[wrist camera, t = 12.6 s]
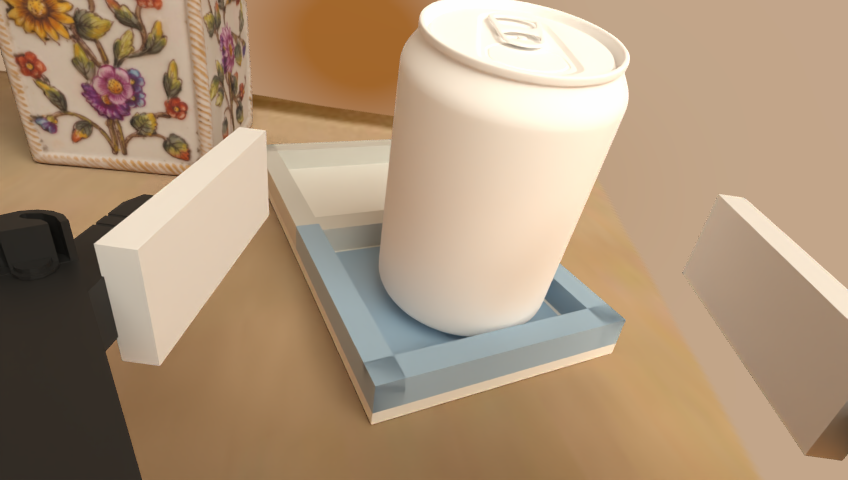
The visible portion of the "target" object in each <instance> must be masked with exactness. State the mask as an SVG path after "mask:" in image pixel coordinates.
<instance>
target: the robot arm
mask: <svg viewBox="0 0 848 480" xmlns="http://www.w3.org/2000/svg"><path fill="white" fill-rule="evenodd" d="M268 216H269V200H268V173H267V146H266V131H265V130H258V129H251V128H244V127H239V128H237V129H236V130H235V131H234V132H233V133H231V134H230V135H229V136H228V137H226V138H225V139H224V140H223V141H221V142H220V143H219V144H218V145H216V146H215V147H214V148H213V149H211V150H210V151H209V152H208V153H206V154H205V155H204V156H203V157H201V158H200V159H199V160H198V161H196V162H195V163H194V164H193V165H191V166H190V167H189V168H188V169H186V170H185V171H184V172H183V173H181V174H180V175H179V176H178V177H176V178H175V179H174V180H173V181H171V182H170V183H169V184H168V185H167V186H165V187H164V188H163V189H162V190H160V191H159V192H158V193H157V194H155V195H154V196H153V195H146V194H143V195H141V196H138V197H136V198H133V199H131V200H128V201H125V202H123V203H121V204H120V205H119V206H117V207H116V208H115V209H113V210H112V211H111V212H109V213H108V216H104V217H103V218H101V219H100V220H99V221H97V222H96V225H92V226H91V227H89V228H88V229H87V230H85V231H84V232H83V233H81V234H80V235H79V236H77V237H76V238H75V239H73V235H72V231H71V228H70V224H69V220H68V219H67V218H66V217H65V216H64V215H63V214H60V213H57V212H54V211H48V210H26V211H17V212H12V213H8V214H3V215H0V480H142V478H141V475H140V471H139V468H138V464H137V461H136V457H135V454H134V450H133V447H132V443H131V440H130V436H129V433H128V429H127V426H126V422H125V419H124V415H123V412H122V408H121V405H120V401H119V398H118V394H117V391H116V387H115V384H114V380H113V377H112V373H111V370H110V366H109V363H108V359H107V356H106V352H105V351H106V350H107V349H108V348H109V347H110V346H111V345H112V343H113V342H114V341H115V340H116V339H117V342H118V346H119V350H120V354H121V358H122V361H128V362H135V363H142V364H149V365H157V366H160V365H161V364H162V362H163V361H164V360H165V358H166V357H167V355H168V354H169V353H170V351H171V350H172V349H173V347H174V346H175V344H176V343H177V342H178V340H179V339H180V337H181V336H182V335H183V333H184V332H185V331H186V329H187V328H188V326H189V325H190V324H191V322H192V321H193V320H194V318H195V317H196V315H197V314H198V313H199V311H200V310H201V309H202V307H203V306H204V304H205V303H206V302H207V300H208V299H209V297H210V296H211V295H212V293H213V292H214V291H215V289H216V288H217V286H218V285H219V284H220V282H221V281H222V280H223V278H224V277H225V275H226V274H227V273H228V271H229V270H230V268H231V267H232V266H233V264H234V263H235V262H236V260H237V259H238V257H239V256H240V255H241V253H242V252H243V251H244V249H245V248H246V246H247V245H248V244H249V242H250V241H251V239H252V238H253V237H254V235H255V234H256V233H257V231H258V230H259V228H260V227H261V226H262V224H263V223H264V222H265V220H266V219H267V217H268ZM682 273H683V275H684V276H685V278H686V279H687V281H688V282H689V284H690V285H691V287H692V288H693V290H694V291H695V293H696V294H697V296H698V297H699V299H700V300H701V302H702V303H703V305H704V306H705V308H706V309H707V311H708V312H709V314H710V315H711V316H712V318H713V319H714V321H715V323H716V324H717V326H718V327H719V329H720V330H721V331H722V333H723V334H724V336H725V337H726V339H727V340H728V342H729V343H730V345H731V346H732V348H733V349H734V351H735V352H736V354H737V355H738V357H739V358H740V360H741V361H742V363H743V364H744V366H745V367H746V369H747V370H748V372H749V373H750V375H751V376H752V378H753V379H754V381H755V382H756V384H757V385H758V387H759V388H760V389H761V391H762V392H763V394H764V395H765V397H766V398H767V400H768V401H769V403H770V404H771V406H772V407H773V409H774V410H775V412H776V413H777V415H778V416H779V418H780V419H781V421H782V422H783V424H784V425H785V427H786V428H787V430H788V431H789V433H790V434H791V436H792V437H793V439H794V440H795V442H796V443H797V445H798V446H799V447H800V449H801V450H802V452H803V454H804V455H806V456H812V457H820V458H827V459H834V460H841V461H842V460H843V459H844V458H845V457H846V456H847V454H848V289H847V288H845V287H844V286H843V285H842V284H841V283H840V282H839V281H838V280H836V279H835V278H834V277H833V276H832V275H831V274H830V273H829V272H827V271H826V270H825V269H824V268H823V267H822V266H821V265H820V264H818V263H817V262H816V261H815V260H814V259H813V258H812V257H810V256H809V255H808V254H807V253H806V252H805V251H804V250H803V249H802V248H800V247H799V246H798V245H797V244H796V243H795V242H794V241H793V240H792V239H790V238H789V237H788V236H787V235H786V234H785V233H784V232H782V231H781V230H780V229H779V228H778V227H777V226H776V225H775V224H774V223H772V222H771V221H770V220H769V219H768V218H767V217H766V216H765V215H763V214H762V213H761V212H760V211H759V210H758V209H757V208H755V207H754V206H753V205H752V204H751V203H750V202H749V201H748V200H746V199H745V198H743V197H735V196H728V195H721V194H718V196H717V198H716V200H715V203H714V205H713V207H712V209H711V212H710V213H709V216H708V218H707V220H706V222H705V224H704V227H703V229H702V231H701V233H700V235H699V237H698V240H697V242H696V244H695V246H694V248H693V251H692V253H691V255H690V257H689V259H688V261H687V264H686V266H685V268H684V270H683V272H682Z"/></svg>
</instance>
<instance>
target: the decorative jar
mask: <svg viewBox="0 0 848 480" xmlns="http://www.w3.org/2000/svg"><path fill="white" fill-rule="evenodd" d="M0 49H1V55H2V57H3V61H4V64H5V67H6V71H7V75H8V78H9V82H10V85H11V88H12V92H13V95H14V99H15V102H16V105H17V109H18V112H19V115H20V118H21V121H22V124H23V128H24V131H25V135H26V137H27V141H28V144H29V147H30V151H31V155H32V158H33V159H34V160H35V161H37V162H39V163H48V164H57V165H70V166H81V167H91V168H103V169H114V170H124V171H134V172H145V173H156V174H166V175H178V176H179V175H180V174H181V173H183V172H184V171H185V170H186V169H188V168H189V167H190V166H191V165H193V164H194V163H195V162H196V161H198V160H199V159H200V158H201V157H203V156H204V155H205V154H206V153H208V152H209V151H210V150H211V149H213V148H214V147H215V146H216V145H218V144H219V143H220V142H221V141H223V140H224V139H225V138H226V137H228V136H229V135H230V134H231V133H233V132H234V131H235V130H236V129H237V128H239V127H244V128H250V127H251V125H252V118H253V114H252V112H253V109H252V83H251V67H250V52H249V38H248V17H247V1H246V0H0Z"/></svg>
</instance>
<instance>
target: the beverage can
mask: <svg viewBox="0 0 848 480" xmlns="http://www.w3.org/2000/svg"><path fill="white" fill-rule="evenodd" d="M629 60H630V56H629V53H628V51H627V49H626V47H625V46H624V45H623V44H622V43H621V42H620V41H619V40H618V39H617V38H615V37H614V36H613V35H611V34H610V33H609V32H607V31H605V30H604V29H602V28H600V27H598V26H596V25H594V24H592V23H590V22H588V21H586V20H583V19H581V18H578V17H576V16H573V15H570V14H567V13H565V12H561V11H558V10H555V9H551V8H548V7H544V6H540V5H536V4H531V3H526V2H521V1H514V0H440V1H437V2H434V3H432V4H430V5H428V6H427V7H425V8H424V9H423V10H422V12H421V14H420V17H419V27H418V29H417V30H416V31H415V32H414V33H413V34H412V35H411V36H410V38H409V39H408V40H407V42H406V44H405V45H404V47H403V50H402V53H401V57H400V65H399V74H398V83H397V93H396V102H395V112H394V121H393V130H392V140H391V149H390V158H389V168H388V177H387V187H386V196H385V206H384V215H383V224H382V234H381V243H380V253H379V274H380V278H381V281H382V283H383V285H384V287H385V289H386V291H387V293H388V294H389V296H390V297H391V298H392V300H393V301H394V302H395V303H396V304H397V305H398V306H399V307H400V308H401V309H402V310H403V311H404V312H405V313H407V314H408V315H409V316H411V317H412V318H414V319H415V320H417V321H419V322H420V323H422V324H424V325H426V326H428V327H431V328H433V329H436V330H439V331H442V332H445V333H449V334H453V335H458V336H466V337H472V336H476V335H480V334H484V333H488V332H492V331H496V330H501V329H505V328H509V327H513V326H517V325H521V324H525V323H526V322H528V321H529V320H530V319H531V318H532V317H533V316H534V315H535V314H536V313H537V311H538V310H539V308H540V307H541V305H542V303H543V300H544V298H545V296H546V293H547V291H548V289H549V287H550V284H551V282H552V280H553V277H554V275H555V273H556V270H557V268H558V266H559V263H560V261H561V259H562V257H563V254H564V252H565V250H566V247H567V245H568V243H569V240H570V238H571V236H572V233H573V231H574V229H575V227H576V224H577V222H578V220H579V217H580V215H581V213H582V210H583V208H584V206H585V203H586V201H587V199H588V197H589V194H590V192H591V190H592V187H593V185H594V183H595V180H596V178H597V176H598V173H599V171H600V169H601V166H602V164H603V162H604V159H605V157H606V155H607V153H608V150H609V148H610V146H611V143H612V141H613V139H614V136H615V134H616V132H617V130H618V127H619V125H620V123H621V120H622V118H623V116H624V113H625V111H626V108H627V103H628V87H627V81H626V77H625V74H624V72H625V71H626V69H627V67H628V65H629Z"/></svg>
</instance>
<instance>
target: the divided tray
mask: <svg viewBox="0 0 848 480" xmlns="http://www.w3.org/2000/svg"><path fill="white" fill-rule="evenodd" d="M391 140H392V139H387V140H364V141H341V142H318V143H294V144H271V145H266V146H267V173H268V197H269V199H270V201H271V204H272V206H273V208H274V210H275V212H276V215H277V217H278V219H279V221H280V224H281V226H282V228H283V230H284V232H285V235H286V237H287V239H288V241H289V244H290V246H291V248H292V250H293V252H294V255H295V257H296V259H297V261H298V263H299V266H300V268H301V270H302V272H303V275H304V277H305V279H306V281H307V283H308V286H309V288H310V290H311V292H312V295H313V297H314V299H315V301H316V303H317V306H318V308H319V310H320V312H321V314H322V317H323V319H324V321H325V323H326V326H327V328H328V330H329V332H330V334H331V337H332V339H333V341H334V343H335V346H336V348H337V350H338V352H339V354H340V357H341V359H342V361H343V363H344V365H345V368H346V370H347V372H348V374H349V377H350V379H351V381H352V383H353V385H354V388H355V390H356V392H357V394H358V397H359V399H360V401H361V403H362V405H363V408H364V410H365V412H366V414H367V416H368V419H369V421H370V423H371V425H372V424H375V423H379V422H382V421H386V420H389V419H392V418H396V417H399V416H402V415H406V414H409V413H412V412H416V411H419V410H422V409H426V408H429V407H432V406H436V405H439V404H442V403H446V402H449V401H453V400H456V399H459V398H463V397H466V396H469V395H473V394H476V393H479V392H483V391H486V390H489V389H493V388H496V387H499V386H503V385H506V384H509V383H513V382H516V381H520V380H523V379H526V378H530V377H533V376H536V375H540V374H543V373H546V372H550V371H553V370H556V369H560V368H563V367H566V366H570V365H573V364H576V363H580V362H583V361H586V360H590V359H593V358H597V357H600V356H603V355H607V354H610V353H612V351H613V349H614V346H615V344H616V342H617V339H618V337H619V334H620V332H621V330H622V327H623V325H624V322H625V319H624V318H623V317H622V316H620V315H619V314H618V313H617V312H616V311H615V310H613V309H612V308H611V307H610V306H609V305H608V304H606V303H605V302H604V301H603V300H602V299H601V298H599V297H598V296H597V295H596V294H595V293H594V292H592V291H591V290H590V289H589V288H588V287H587V286H585V285H584V284H583V283H582V282H581V281H580V280H578V279H577V278H576V277H575V276H574V275H573V274H571V273H570V272H569V271H568V270H567V269H566V268H564V267H563V266H562V265H561V264H560V263H559V266H558V268H557V270H556V273H555V275H554V277H553V280H552V282H551V284H550V287H549V289H548V291H547V293H546V296H545V298H544V300H543V303H542V305H541V307H540V308H539V310H538V311H537V313H536V314H535V315H534V316H533V317H532V318H531V319H530V320H529V321H528V322H526V323H525V324H521V325H517V326H513V327H509V328H505V329H501V330H496V331H492V332H488V333H484V334H480V335H476V336H472V337H466V336H458V335H453V334H449V333H445V332H442V331H439V330H436V329H433V328H431V327H428V326H426V325H424V324H422V323H420V322H419V321H417V320H415V319H414V318H412V317H411V316H409V315H408V314H407V313H405V312H404V311H403V310H402V309H401V308H400V307H399V306H398V305H397V304H396V303H395V302H394V301H393V300H392V298H391V297H390V296H389V294H388V293H387V291H386V289H385V287H384V285H383V283H382V281H381V278H380V274H379V253H380V243H381V234H382V224H383V215H384V206H385V196H386V187H387V177H388V168H389V158H390V149H391Z"/></svg>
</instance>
